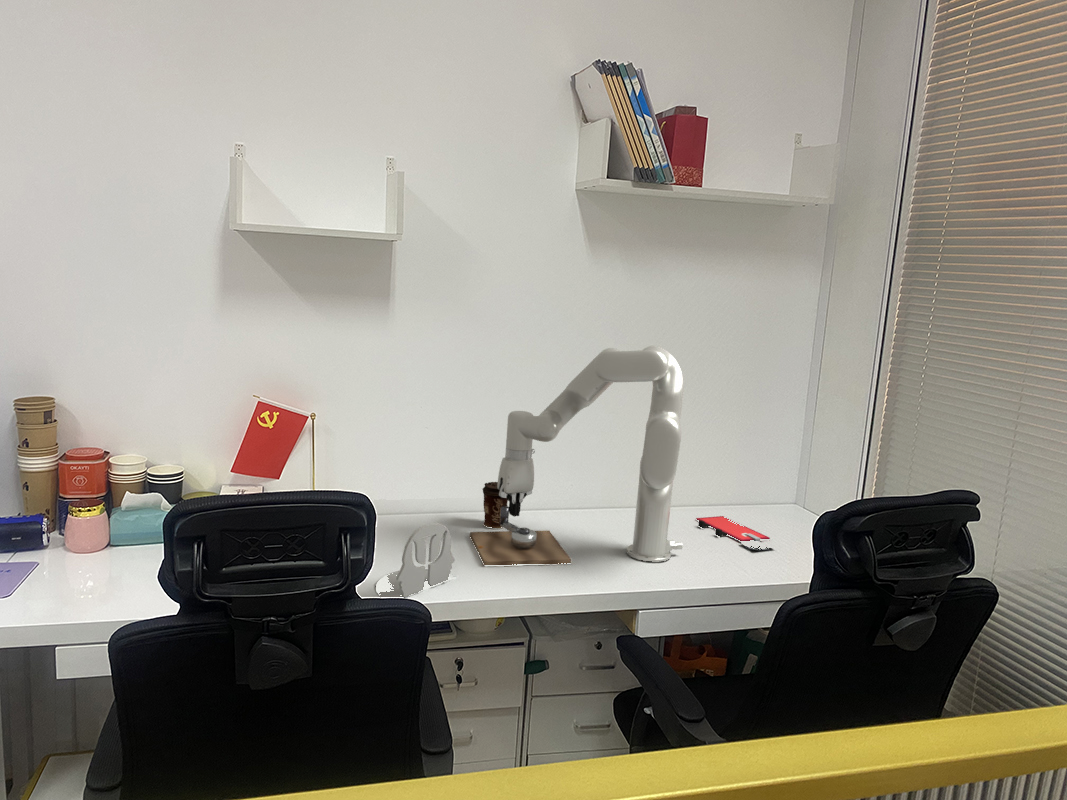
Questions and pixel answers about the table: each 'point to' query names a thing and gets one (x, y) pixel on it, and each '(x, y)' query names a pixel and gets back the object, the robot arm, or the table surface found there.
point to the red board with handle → (731, 529)
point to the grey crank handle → (517, 531)
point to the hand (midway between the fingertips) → (514, 514)
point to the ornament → (422, 562)
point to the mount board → (518, 549)
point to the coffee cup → (492, 505)
